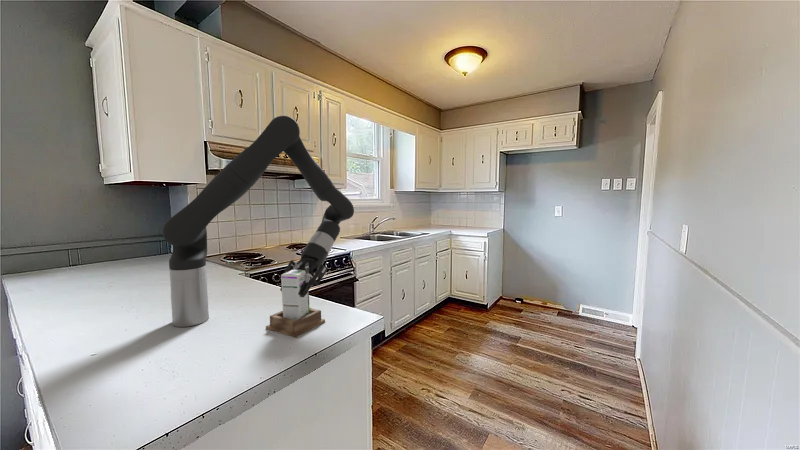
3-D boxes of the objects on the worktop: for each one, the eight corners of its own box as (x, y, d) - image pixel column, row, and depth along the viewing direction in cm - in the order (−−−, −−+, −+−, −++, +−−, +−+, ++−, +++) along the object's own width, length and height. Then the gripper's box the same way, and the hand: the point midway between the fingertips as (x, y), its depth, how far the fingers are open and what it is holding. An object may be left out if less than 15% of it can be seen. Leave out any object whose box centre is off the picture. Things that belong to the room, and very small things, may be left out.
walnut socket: (265, 328, 89) (265, 316, 89) (296, 314, 100) (296, 303, 100) (295, 337, 84) (295, 324, 84) (325, 321, 95) (324, 310, 94)
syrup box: (300, 323, 89) (299, 274, 87) (282, 321, 90) (280, 273, 88) (310, 315, 94) (308, 270, 93) (292, 314, 95) (291, 268, 94)
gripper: (295, 240, 100) (266, 284, 90) (330, 243, 93) (302, 291, 84) (307, 253, 105) (281, 296, 96) (341, 257, 98) (316, 303, 89)
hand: (291, 293), depth 90 cm, fingers closed on syrup box, 6 cm apart
